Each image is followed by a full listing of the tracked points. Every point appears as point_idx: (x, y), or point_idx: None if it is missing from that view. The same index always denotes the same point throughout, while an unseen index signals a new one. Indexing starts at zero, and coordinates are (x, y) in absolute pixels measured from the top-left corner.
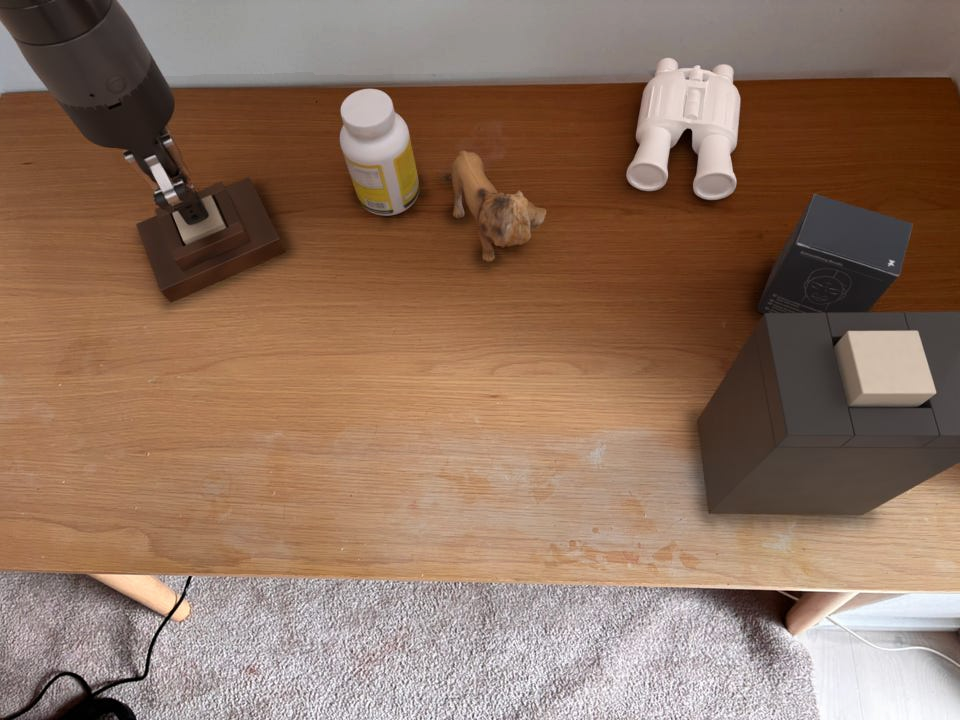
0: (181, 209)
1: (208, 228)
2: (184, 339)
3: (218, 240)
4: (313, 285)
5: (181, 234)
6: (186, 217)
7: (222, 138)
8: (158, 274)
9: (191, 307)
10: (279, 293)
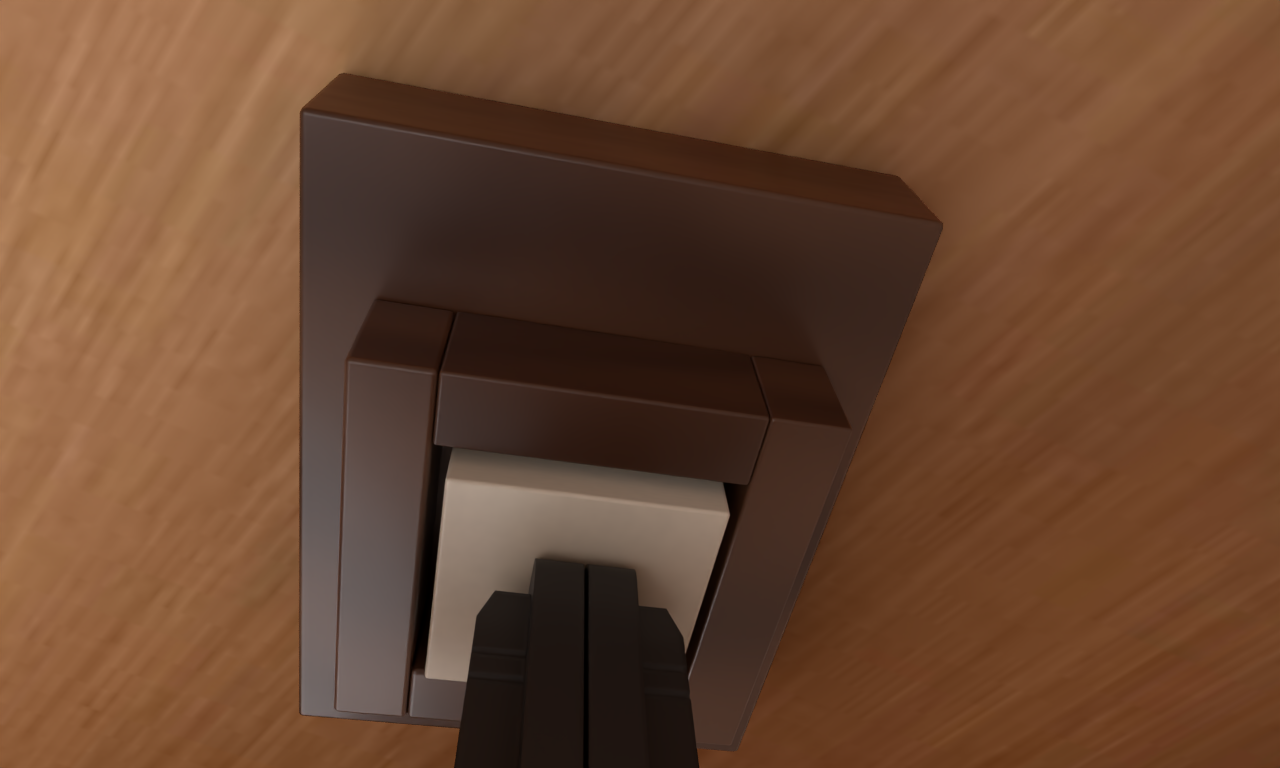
0: (461, 737)
1: (442, 614)
2: (12, 10)
3: (341, 606)
4: (86, 638)
5: (500, 492)
6: (472, 659)
7: (1091, 680)
8: (446, 161)
9: (241, 159)
10: (109, 528)
